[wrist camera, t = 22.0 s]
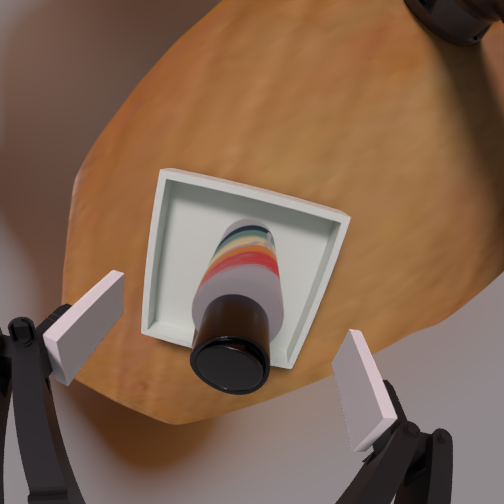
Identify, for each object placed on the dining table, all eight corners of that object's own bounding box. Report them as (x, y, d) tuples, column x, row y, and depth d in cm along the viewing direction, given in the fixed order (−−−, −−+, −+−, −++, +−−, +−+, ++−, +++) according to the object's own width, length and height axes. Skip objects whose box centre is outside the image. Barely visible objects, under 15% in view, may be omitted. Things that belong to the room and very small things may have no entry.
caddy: (174, 167, 30) (160, 169, 26) (338, 208, 31) (350, 217, 27) (153, 314, 37) (141, 333, 32) (288, 346, 38) (291, 369, 33)
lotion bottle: (284, 247, 31) (315, 381, 12) (243, 276, 32) (223, 423, 13) (252, 206, 29) (237, 299, 10) (211, 238, 31) (143, 359, 12)
